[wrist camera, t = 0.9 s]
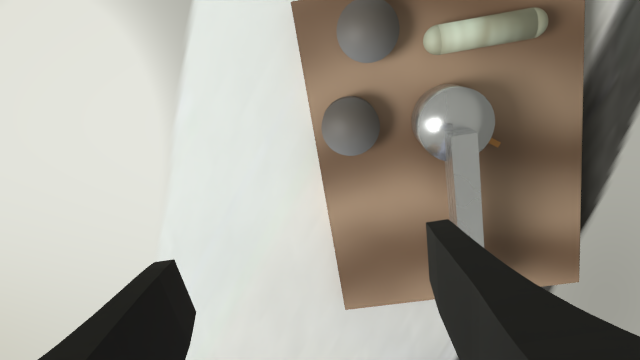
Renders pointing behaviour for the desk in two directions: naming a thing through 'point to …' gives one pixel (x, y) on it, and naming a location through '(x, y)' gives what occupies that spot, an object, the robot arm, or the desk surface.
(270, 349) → the desk surface
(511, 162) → the brown flat board
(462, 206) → the door lever handle
